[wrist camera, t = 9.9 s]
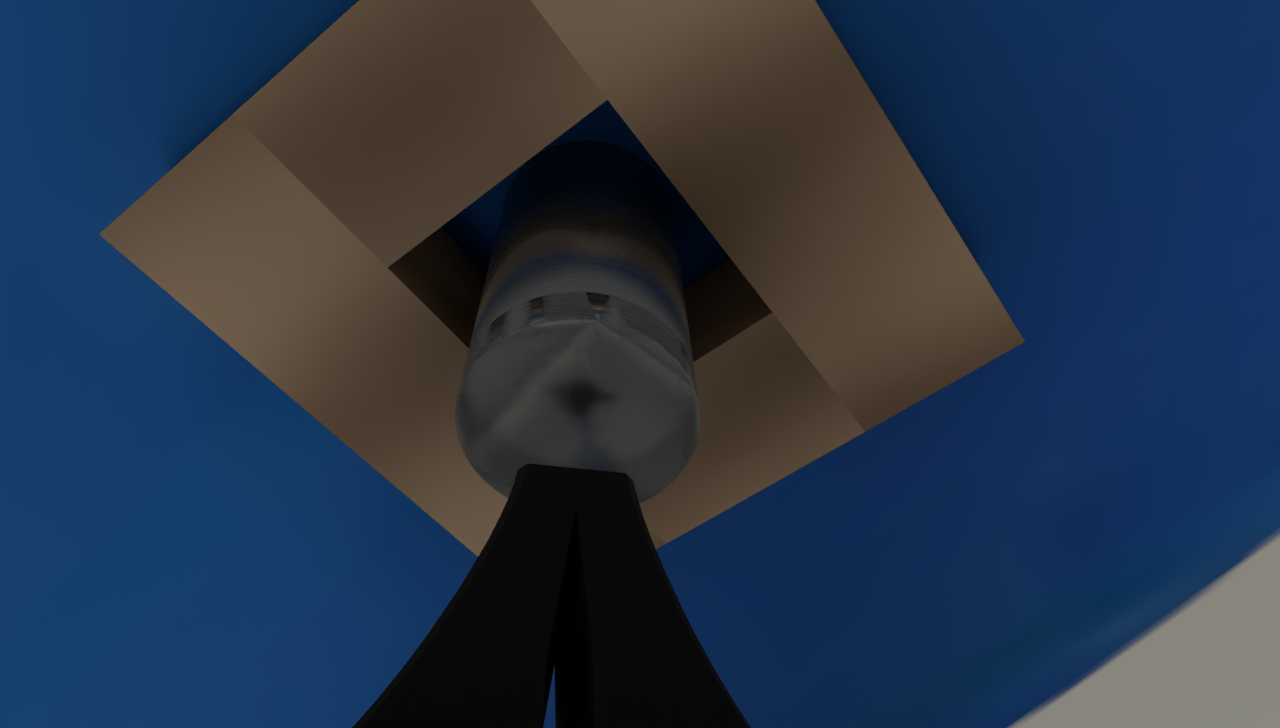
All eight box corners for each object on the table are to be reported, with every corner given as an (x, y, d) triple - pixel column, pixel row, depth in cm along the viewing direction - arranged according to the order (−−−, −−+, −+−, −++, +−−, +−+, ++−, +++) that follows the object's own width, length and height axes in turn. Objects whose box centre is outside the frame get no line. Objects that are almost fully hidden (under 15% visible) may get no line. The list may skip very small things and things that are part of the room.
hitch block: (974, 270, 20) (1024, 341, 18) (551, 524, 24) (543, 612, 21) (646, -258, 15) (652, -264, 12) (169, 172, 19) (98, 234, 16)
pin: (706, 243, 20) (746, 447, 14) (571, 327, 21) (555, 549, 15) (607, 106, 18) (606, 273, 12) (466, 205, 19) (403, 402, 13)
